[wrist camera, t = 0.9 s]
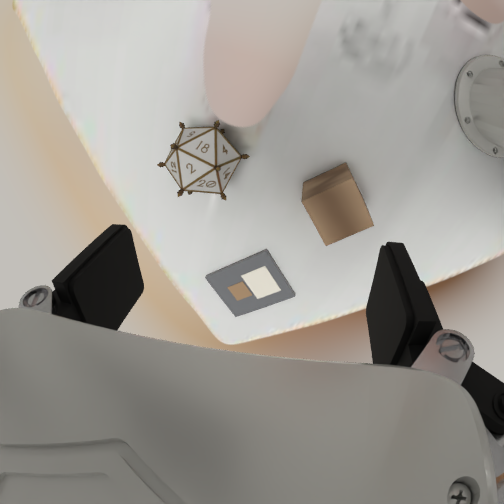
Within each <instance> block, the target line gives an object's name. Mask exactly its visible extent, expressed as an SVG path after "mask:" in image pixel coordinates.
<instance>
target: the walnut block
mask: <svg viewBox="0 0 504 504" xmlns="http://www.w3.org/2000/svg"><path fill="white" fill-rule="evenodd" d="M302 203H303V205H304V207H305V209H306V210H307V212H308V214H309V216H310V218H311V219H312V221H313V223H314V225H315V227H316V229H317V231H318V232H319V234H320V236H321V238H322V240H323V242H324V244H325V245H326V246H327V245H329V244H332V243H334V242H337V241H339V240H341V239H344V238H346V237H348V236H351V235H353V234H355V233H358V232H360V231H362V230H365V229H367V228H369V227H372V226H374V224H373V222H372V219H371V216H370V214H369V211H368V209H367V206H366V204H365V202H364V199H363V197H362V195H361V193H360V191H359V189H358V186H357V184H356V182H355V180H354V178H353V176H352V174H351V172H350V170H349V168H348V166H347V164H346V163H344V164H342V165H340V166H337V167H335V168H333V169H331V170H329V171H327V172H325V173H323V174H320V175H318V176H316V177H314V178H312V179H310V180H308V181H306V182H304V183H303V191H302Z"/></svg>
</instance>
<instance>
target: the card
mask: <svg viewBox="0 0 504 504" xmlns="http://www.w3.org/2000/svg"><path fill="white" fill-rule="evenodd" d="M205 278H206V279H207V281H208V282H209V283H210V285H211V286H212V287H213V289H214V290H215V291H216V292H217V294H218V295H219V296H220V298H221V299H222V300H223V301H224V303H225V304H226V305H227V307H228V308H229V309H230V310H231V312H232V313H233V314H234V315H235V317H237V316H240V315H243V314H246V313H249V312H252V311H255V310H258V309H261V308H264V307H267V306H270V305H272V304H275V303H278V302H281V301H284V300H287V299H289V298H292V297H295V293H294V291H293V290H292V288H291V286H290V285H289V283H288V282H287V280H286V278H285V277H284V275H283V274H282V272H281V271H280V269H279V267H278V266H277V264H276V263H275V261H274V260H273V258H272V256H271V255H270V253H269V252H268V250H267V249H266V250H264V251H261V252H259V253H257V254H254V255H252V256H250V257H247V258H245V259H243V260H241V261H238V262H236V263H234V264H231V265H229V266H227V267H225V268H222V269H220V270H218V271H215V272H213V273H211V274H209V275H206V277H205Z"/></svg>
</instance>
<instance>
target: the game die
mask: <svg viewBox="0 0 504 504" xmlns="http://www.w3.org/2000/svg"><path fill="white" fill-rule="evenodd" d="M214 123H215V124H214V127H192V128H185V125H184V123H181V122H180V124H179V126H180V128H182V131H181V133H180V134H179V136H178V138H177V140H176V142H175V144H174V143H173V144H171V145H170V146H171V151H170V153H169V155H168V157H167V159H166V161H165V163H163V162H162V163H161V162H160V163H159V164H158V166H160V167H163V166H166V168H167V169H168V171H169V172H170V174H171V175H172V177H173V178H174V180H175V181H176V182H177V184H178V185H179V187H180V188H181V190H179V192H177V193H178V197H179V196H182V195H183V193H184V192H183V191H188V194H189V195H190V194H192V192H204V193H216V194H221V197H222V199H224V200H226V196H225V194H224V193H223V191H224V189H225V188H226V186H227V184H228V182H229V180H230V178H231V176H232V174H233V173H234V171H235V169H236V167H237V165H238V163H239V162H240V160H241V158H243V159H247V158H248V157H250V156H248V155H247V154H243V155H240V153H239V152H238V151H237V150H236V149H235V148H234V147H233V145H232V144H231V143H230V142H229V141H228V140H227V139H226V137H225V136H224V135H223V133H225V132H224V129H221V130H220V131H219V130H218V128H217V127H219V125H220V123H219V120H218V121H216V122H214Z"/></svg>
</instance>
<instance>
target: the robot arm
mask: <svg viewBox="0 0 504 504" xmlns="http://www.w3.org/2000/svg"><path fill="white" fill-rule="evenodd" d="M467 73H468V76H467ZM455 106H456V112H457V116H458V119H459V122H460V125H461V127H462V129H463V131H464V133H465V134H466V136H467V137H468V139H469V140H470V141H471V142H472V143H473V144H474V146H475V147H477V148H478V149H480V150H481V151H482V152H484V153H486V154H488V155H490V156H493V157H500V158H504V59H503V58H500V57H497V56H492V55H483V56H478V57H475V58H473V59H472V60H470V61H469V62H467V64H466V65H465V66H464V67H463V68H462V70H461V72H460V74H459V76H458V79H457V82H456V88H455ZM464 119H466V120H465V121H464ZM52 282H53V285H54V287H55V290H54V291H53V292H52V290H51V288H50V287H48V286H37V287H34V288H32V289H30V290H29V291H27V292H26V293H25V294H24V295H23V297H22V298H21V299H20V302H19V308H11V309H4V310H0V504H504V383H503V382H501V381H500V380H498V379H497V378H495V377H494V376H492V375H491V374H490V373H488V372H487V371H485V370H484V369H482V368H481V367H479V366H478V365H476V364H475V363H474V362H472V361H473V358H474V354H475V353H474V347H473V345H472V343H471V342H470V340H469V339H468V338H467V337H466V336H464V335H463V334H462V333H460V332H457V331H455V330H449V329H444V330H443V328H442V325H441V323H440V320H439V318H438V315H437V312H436V310H435V308H434V305H433V303H432V300H431V298H430V295H429V293H428V291H427V288H426V286H425V284H424V282H423V281H420V279H419V276H418V274H417V272H416V270H415V267H414V265H413V263H412V261H411V259H410V256H409V254H408V252H407V250H406V248H405V246H404V244H403V243H396V242H387V243H386V246H383V245H382V246H381V248H380V252H379V257H378V262H377V266H376V270H375V275H374V279H373V283H372V287H371V291H370V295H369V299H368V303H367V307H366V317H367V323H368V330H369V337H370V344H371V351H372V358H373V364H368V363H353V362H337V361H321V360H307V359H296V358H285V357H274V356H266V355H257V354H249V353H241V352H234V351H227V350H220V349H213V348H206V347H200V346H194V345H188V344H182V343H176V342H170V341H165V340H160V339H155V338H150V337H145V336H140V335H135V334H131V333H126V332H121V331H117V330H118V328H119V327H120V325H121V323H122V322H123V320H124V319H125V318H126V316H127V315H128V313H129V312H130V310H131V309H132V307H133V306H134V304H135V303H136V301H137V300H138V298H139V297H140V296H141V294H142V293H143V290H144V283H143V279H142V275H141V271H140V267H139V263H138V259H137V255H136V251H135V246H134V242H133V237H132V233H131V230H130V229H128V227H127V226H126V225H116V224H112V225H111V226H110V227H109V228H107V229H106V230H105V231H104V232H103V233H102V234H101V235H99V236H98V237H97V238H96V239H95V240H94V241H93V242H92V243H91V244H89V245H88V247H86V248H85V249H84V250H83V251H82V252H81V253H80V254H79V255H78V256H77V257H76V258H75V259H73V261H71V262H70V263H69V264H68V265H67V266H66V267H65V268H64V269H63V270H62V271H61V272H60V273H59V274H58V275H57V276H56V277H55V278H54V279H53V280H52Z"/></svg>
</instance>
